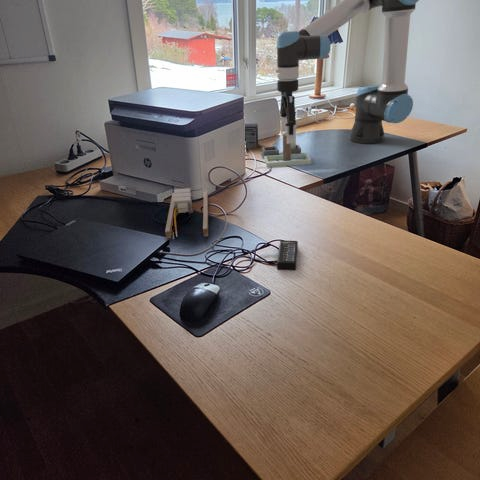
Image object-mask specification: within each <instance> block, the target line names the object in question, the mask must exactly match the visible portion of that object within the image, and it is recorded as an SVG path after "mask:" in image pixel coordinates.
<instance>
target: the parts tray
mask: <svg viewBox="0 0 480 480" xmlns="http://www.w3.org/2000/svg"><path fill="white" fill-rule="evenodd" d="M292 159H296V160H292ZM263 160H264V162H265V165H266V167H267V168H268V167H269V168H272V167H273V168H274V167H286V166H287V167H288V166H300V165H302V166H303V165H312V161H313V160H312V159H311V156H309V154H308V153H307V152H304V153H302V152H301V154H291V161H283V155H271V156H264V159H263ZM275 160H280V161H275ZM269 161H270V162H269Z"/></svg>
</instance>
